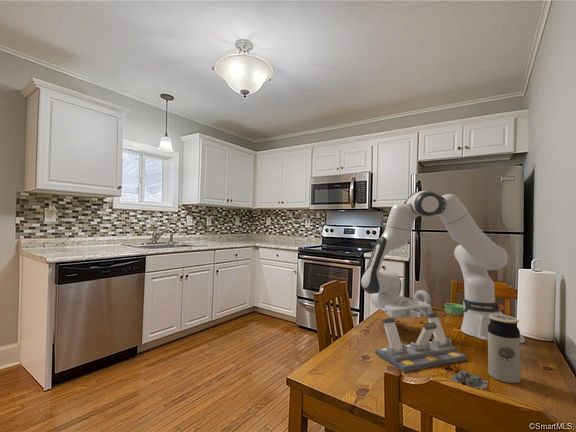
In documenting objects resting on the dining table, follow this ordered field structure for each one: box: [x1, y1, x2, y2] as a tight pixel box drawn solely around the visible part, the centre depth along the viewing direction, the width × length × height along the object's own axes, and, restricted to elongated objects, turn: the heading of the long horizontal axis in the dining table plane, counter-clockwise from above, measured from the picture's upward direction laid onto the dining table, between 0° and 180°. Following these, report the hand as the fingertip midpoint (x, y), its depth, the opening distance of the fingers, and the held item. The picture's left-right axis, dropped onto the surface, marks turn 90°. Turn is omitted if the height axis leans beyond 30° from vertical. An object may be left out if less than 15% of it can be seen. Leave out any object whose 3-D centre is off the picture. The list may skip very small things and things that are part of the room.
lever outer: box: [381, 317, 403, 352], centre depth 103 cm, size 2×4×11 cm, turn 110°
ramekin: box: [444, 302, 464, 316], centre depth 159 cm, size 9×9×4 cm
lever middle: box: [414, 322, 437, 349], centre depth 103 cm, size 2×4×11 cm, turn 110°
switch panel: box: [375, 336, 468, 373], centre depth 105 cm, size 14×27×5 cm, turn 110°
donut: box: [413, 289, 432, 305], centre depth 169 cm, size 10×4×10 cm, turn 32°
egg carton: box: [449, 369, 489, 391], centre depth 83 cm, size 11×8×4 cm
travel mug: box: [487, 314, 521, 384], centre depth 91 cm, size 8×8×18 cm
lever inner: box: [425, 312, 448, 345], centre depth 110 cm, size 2×4×11 cm, turn 110°
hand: (422, 315), depth 117 cm, fingers closed
